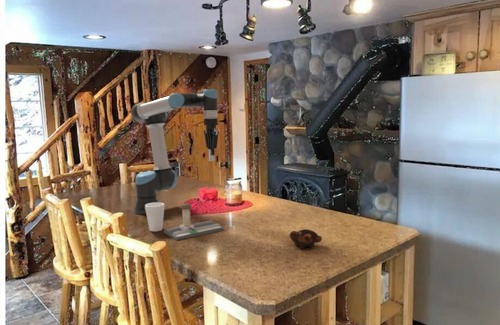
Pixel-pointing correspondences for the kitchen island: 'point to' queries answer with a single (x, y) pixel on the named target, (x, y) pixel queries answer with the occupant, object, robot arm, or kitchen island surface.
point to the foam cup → (155, 215)
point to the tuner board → (198, 227)
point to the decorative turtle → (305, 238)
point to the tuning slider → (186, 217)
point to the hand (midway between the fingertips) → (211, 160)
